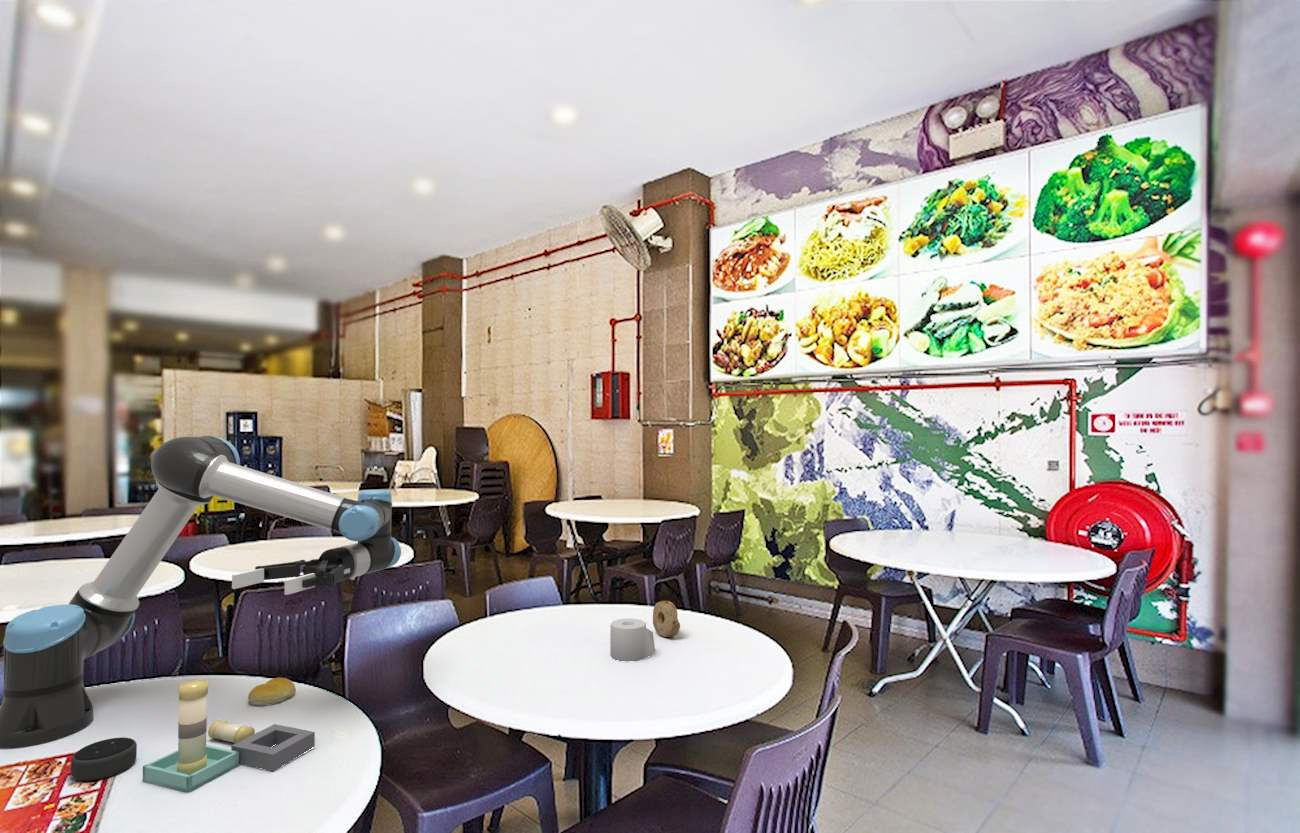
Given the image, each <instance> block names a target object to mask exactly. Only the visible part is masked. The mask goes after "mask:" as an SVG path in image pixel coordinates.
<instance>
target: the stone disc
mask: <svg viewBox="0 0 1300 833" xmlns="http://www.w3.org/2000/svg"><path fill="white" fill-rule="evenodd" d="M678 617H679V616H678V610H677V607H676V606H675V604H674V603H673V602H671V601H670V600H660V601H658V602H656V603H655V605H654V607H653V613H652V624H653V625H652V626H653V629H654V630H655V632H656V633H657V635H659V636H660V637H663V638H669V637H671V638H672V637H675V636H676V635H677V634H678V633H679V631H680V629H681V624H680V622H679V619H678Z"/></svg>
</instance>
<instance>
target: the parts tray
mask: <svg viewBox="0 0 1300 833" xmlns="http://www.w3.org/2000/svg"><path fill="white" fill-rule="evenodd" d="M206 754H207V761H206V767H205V768H203V769H201V770H199V771H197V772H195V773H193V774H191V775H188V774H183V773H179V772H177V761H178V749H177V750H175V751H173V752H171V753H168V754H166V755H164V756H161V757H160V758H157V759H156V760H152V761H151V762H149V763H146V764H145V765H143V766H142V782H145V783H148V784H152V785H158V786H161V787H164V788H168V789H173V790H176V791H180V792H184V793H188V794H189V793H191V792H193V791H194V790H196V789H198V788H200V787H202V786H205V785H206V784H208V783H209V782H212V781H213V780H215V779H217V778H220V777H221V776H224V774H227V773H228V772H230V771H232V770H234V769H236V768H237V767H239V766H240V764H239V752H237V751H233V750H231V749H228V748H222V747H219V746H213V745H210V744H206Z"/></svg>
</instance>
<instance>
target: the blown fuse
mask: <svg viewBox="0 0 1300 833" xmlns="http://www.w3.org/2000/svg"><path fill="white" fill-rule="evenodd" d="M208 693H209V680H208V679H205V678H195V679H191V680H190V679H189V680H187V681H184V682H181V683H180V684H179V685H178V722H177V724H178V725H177V727H178V728H177V738H178V741H177V745H178V746H177V747H178V748H177V750H178V761H177V772H179V773H183V774H188V775H191V774H193V773H195V772H197V771H199V770H201V769H203V768H205V767H206V761H207V754H206V745H207V732H208V730H207V729H208V717H207V716H208V715H207V714H208V713H207V712H208Z"/></svg>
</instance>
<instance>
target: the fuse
mask: <svg viewBox="0 0 1300 833" xmlns="http://www.w3.org/2000/svg"><path fill="white" fill-rule="evenodd" d="M254 734H256V731H255V728H254V727H253V726H251V725H250V726H249V725H245V724H244V725H240V724H235V723H230V722H227V721H226V720H220V719H218V720H215V721H213V722H212V723H211V724H210V726H209V728H208V730H207V735H208V737H209V738H211V739H215V740H218V741H219V740H220V741H224V742H228V743H233V744H235V743H237V742H239V741H241V740H244V739H246V738H248V737H250V736H252V735H254Z"/></svg>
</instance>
